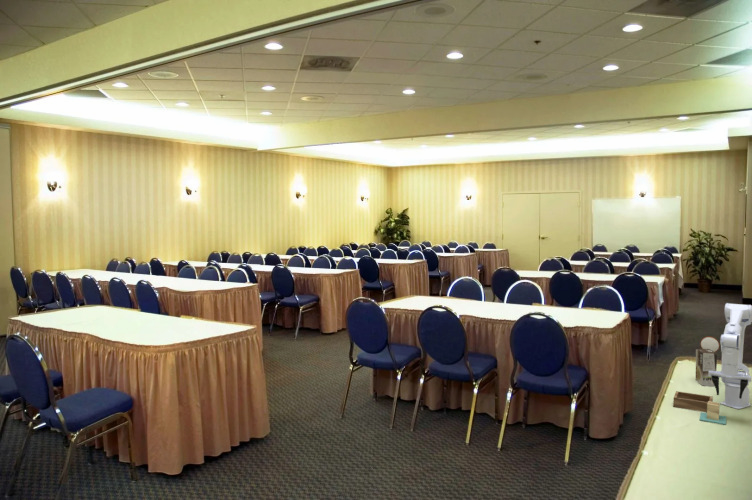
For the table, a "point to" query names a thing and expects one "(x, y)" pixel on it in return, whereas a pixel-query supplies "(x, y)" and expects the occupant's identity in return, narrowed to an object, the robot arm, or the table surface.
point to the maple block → (713, 410)
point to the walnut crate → (691, 401)
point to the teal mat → (704, 418)
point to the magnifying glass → (710, 343)
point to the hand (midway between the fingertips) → (729, 396)
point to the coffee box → (705, 366)
